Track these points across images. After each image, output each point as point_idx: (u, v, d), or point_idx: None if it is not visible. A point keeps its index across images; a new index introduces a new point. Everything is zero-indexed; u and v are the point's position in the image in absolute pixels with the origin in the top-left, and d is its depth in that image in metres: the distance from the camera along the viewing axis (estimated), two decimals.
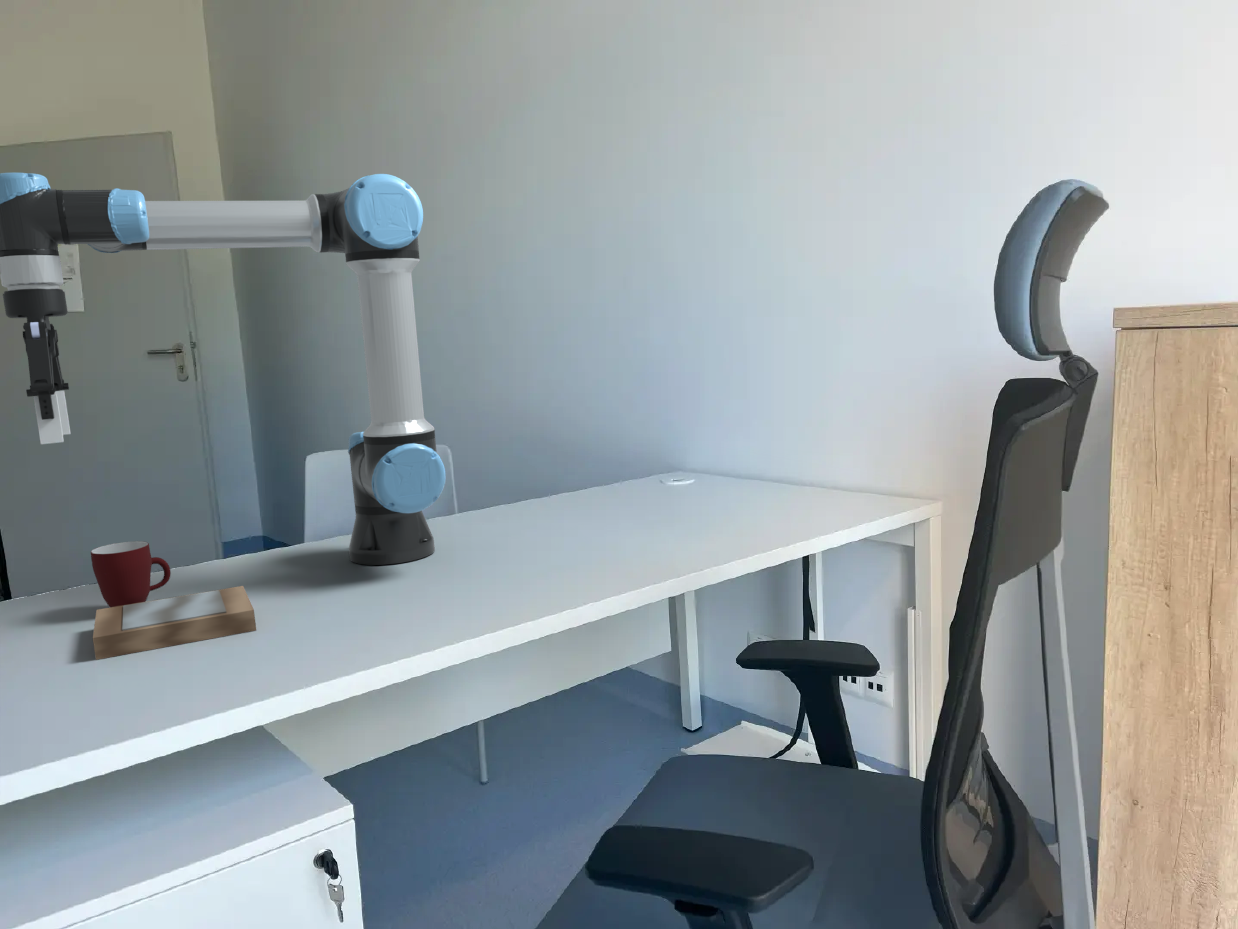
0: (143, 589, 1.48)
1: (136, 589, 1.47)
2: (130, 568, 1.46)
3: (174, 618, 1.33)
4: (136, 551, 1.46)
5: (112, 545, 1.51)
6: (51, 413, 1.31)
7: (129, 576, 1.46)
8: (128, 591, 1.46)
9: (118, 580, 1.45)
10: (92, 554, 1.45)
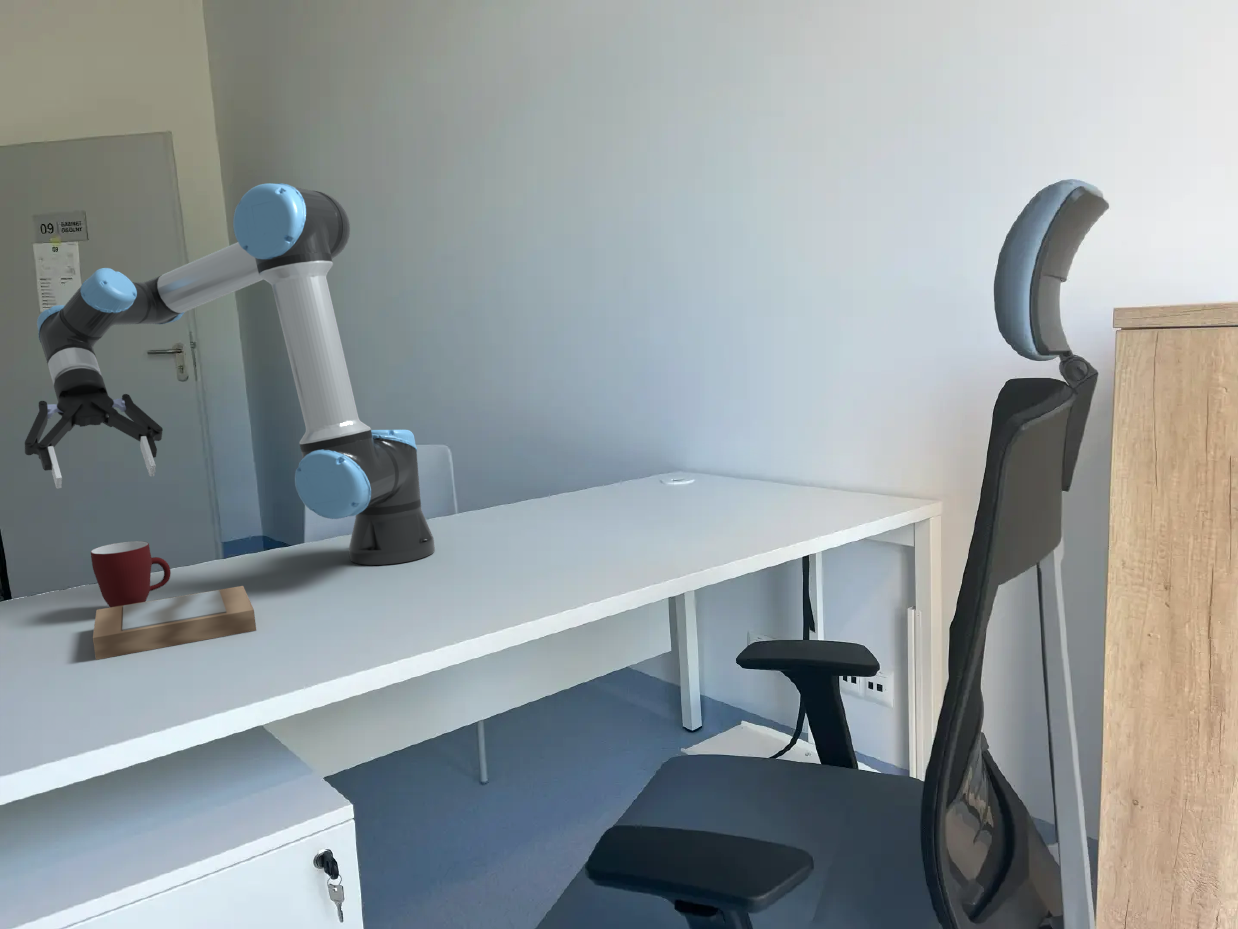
0: (143, 589, 1.48)
1: (136, 589, 1.47)
2: (130, 568, 1.46)
3: (174, 618, 1.33)
4: (136, 551, 1.46)
5: (112, 545, 1.51)
6: (42, 462, 1.52)
7: (129, 576, 1.46)
8: (128, 591, 1.46)
9: (118, 580, 1.45)
10: (92, 554, 1.45)
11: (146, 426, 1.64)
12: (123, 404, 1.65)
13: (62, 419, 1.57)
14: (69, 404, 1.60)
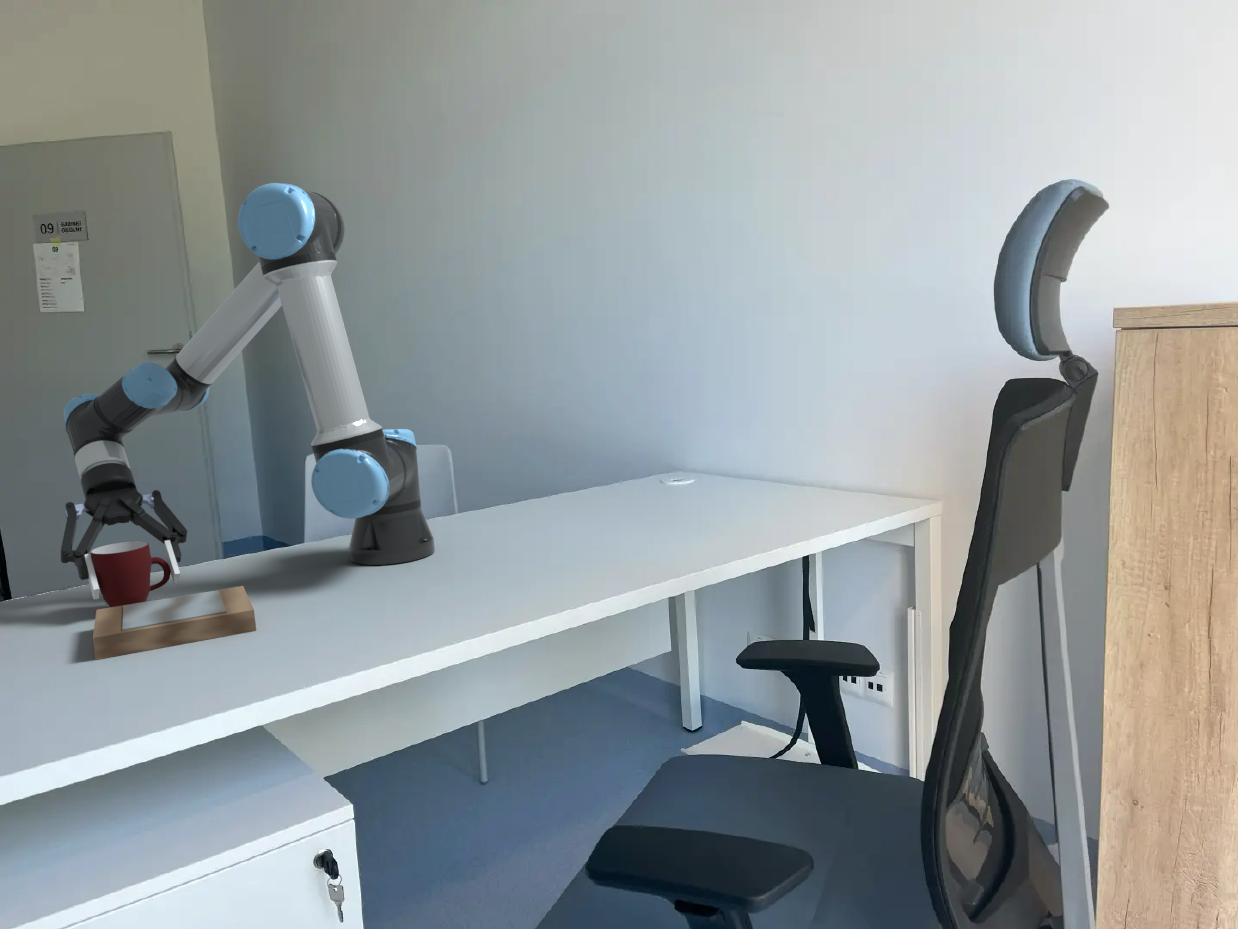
0: (143, 589, 1.48)
1: (136, 589, 1.47)
2: (130, 568, 1.46)
3: (174, 618, 1.33)
4: (136, 551, 1.46)
5: (112, 545, 1.51)
6: (79, 571, 1.45)
7: (129, 576, 1.46)
8: (128, 591, 1.46)
9: (118, 580, 1.45)
10: (92, 554, 1.45)
11: (171, 527, 1.56)
12: (152, 501, 1.57)
13: (93, 521, 1.50)
14: (97, 502, 1.53)
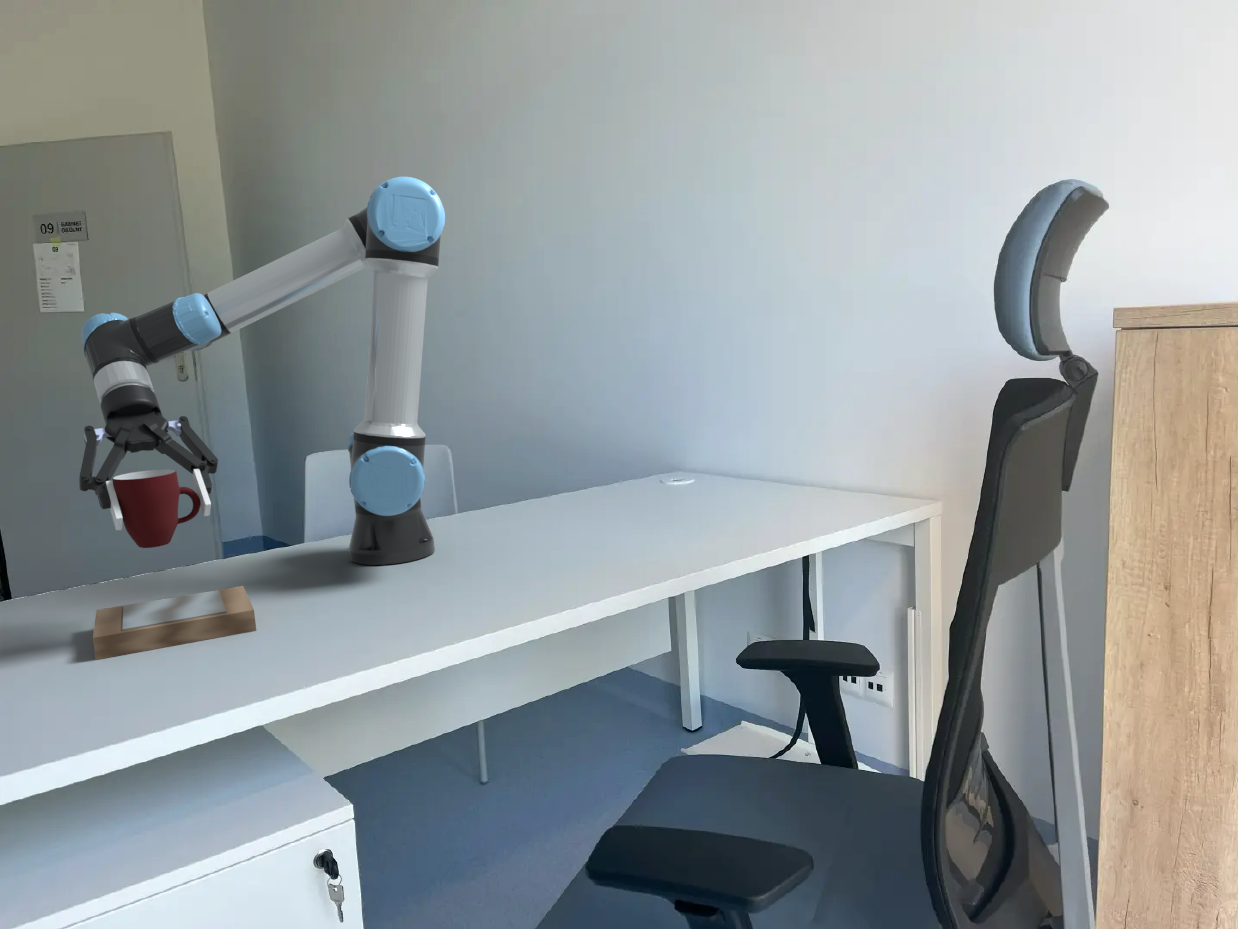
0: (170, 521, 1.33)
1: (163, 520, 1.32)
2: (156, 496, 1.31)
3: (174, 618, 1.33)
4: (163, 477, 1.31)
5: (136, 473, 1.36)
6: (100, 499, 1.30)
7: (155, 505, 1.31)
8: (154, 522, 1.32)
9: (143, 509, 1.31)
10: (114, 480, 1.31)
11: (200, 455, 1.41)
12: (179, 428, 1.42)
13: (115, 446, 1.36)
14: (119, 426, 1.38)
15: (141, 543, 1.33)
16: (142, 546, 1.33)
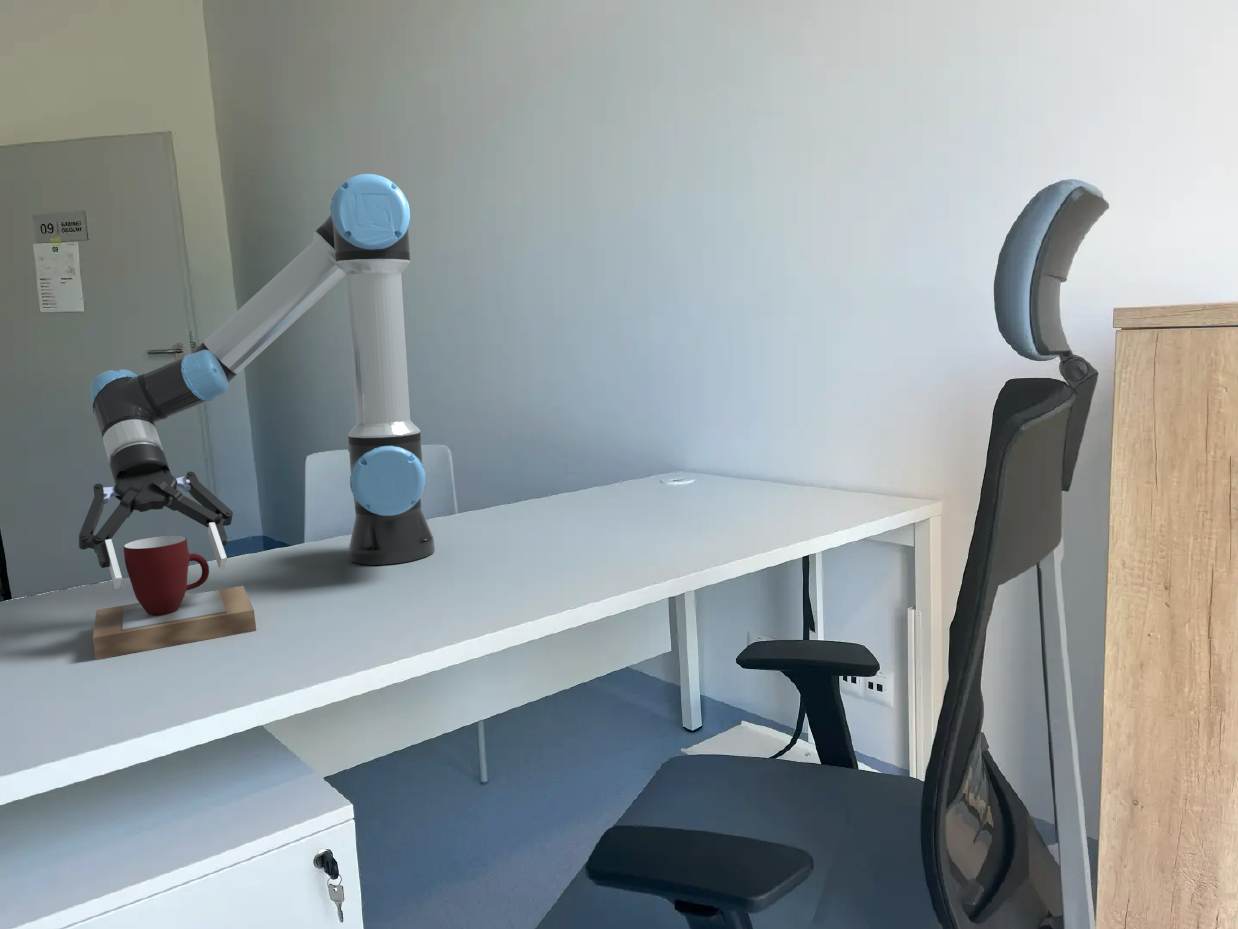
0: (180, 588, 1.35)
1: (173, 588, 1.34)
2: (167, 565, 1.32)
3: (174, 618, 1.33)
4: (173, 546, 1.33)
5: (146, 540, 1.38)
6: (99, 559, 1.31)
7: (165, 573, 1.32)
8: (163, 590, 1.33)
9: (154, 577, 1.32)
10: (125, 549, 1.32)
11: (214, 509, 1.43)
12: (188, 484, 1.44)
13: (120, 505, 1.37)
14: (128, 486, 1.39)
15: (150, 610, 1.34)
16: (151, 613, 1.34)
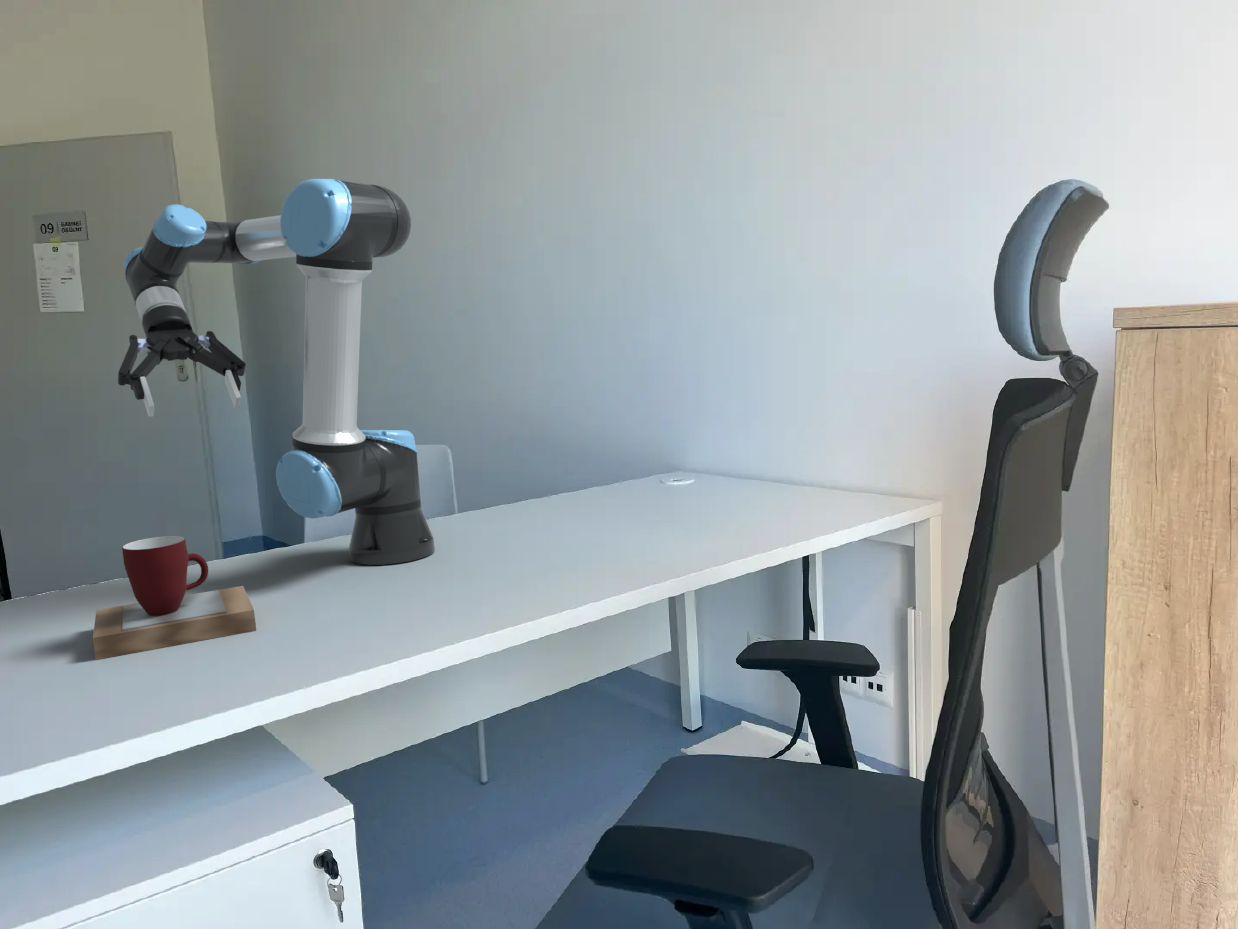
0: (179, 588, 1.35)
1: (172, 588, 1.34)
2: (166, 565, 1.32)
3: (174, 618, 1.33)
4: (172, 547, 1.33)
5: (145, 540, 1.38)
6: (135, 391, 1.58)
7: (165, 574, 1.32)
8: (163, 590, 1.33)
9: (153, 578, 1.32)
10: (124, 550, 1.32)
11: (230, 361, 1.70)
12: (207, 340, 1.70)
13: (152, 352, 1.63)
14: (157, 339, 1.66)
15: (150, 611, 1.34)
16: (151, 614, 1.34)
